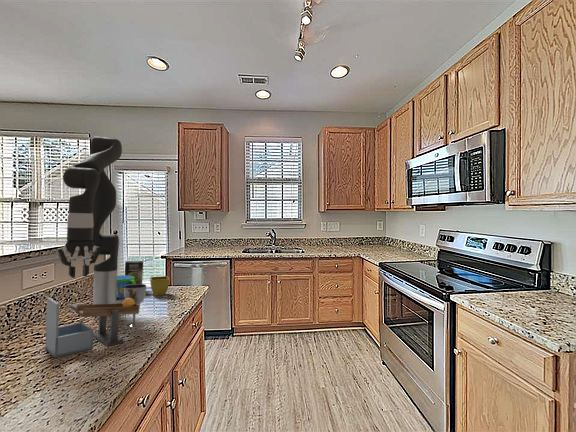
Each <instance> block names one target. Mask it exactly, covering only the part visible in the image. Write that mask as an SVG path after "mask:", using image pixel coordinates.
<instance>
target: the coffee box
mask: <svg viewBox="0 0 576 432" xmlns="http://www.w3.org/2000/svg"><path fill="white" fill-rule="evenodd" d="M124 265H125V266H124V275H127V276H134V280H135V282H136V284H143V273H144V261H143V260H137V261H136V260H131V261H130V260H126V261H125V262H124Z"/></svg>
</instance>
